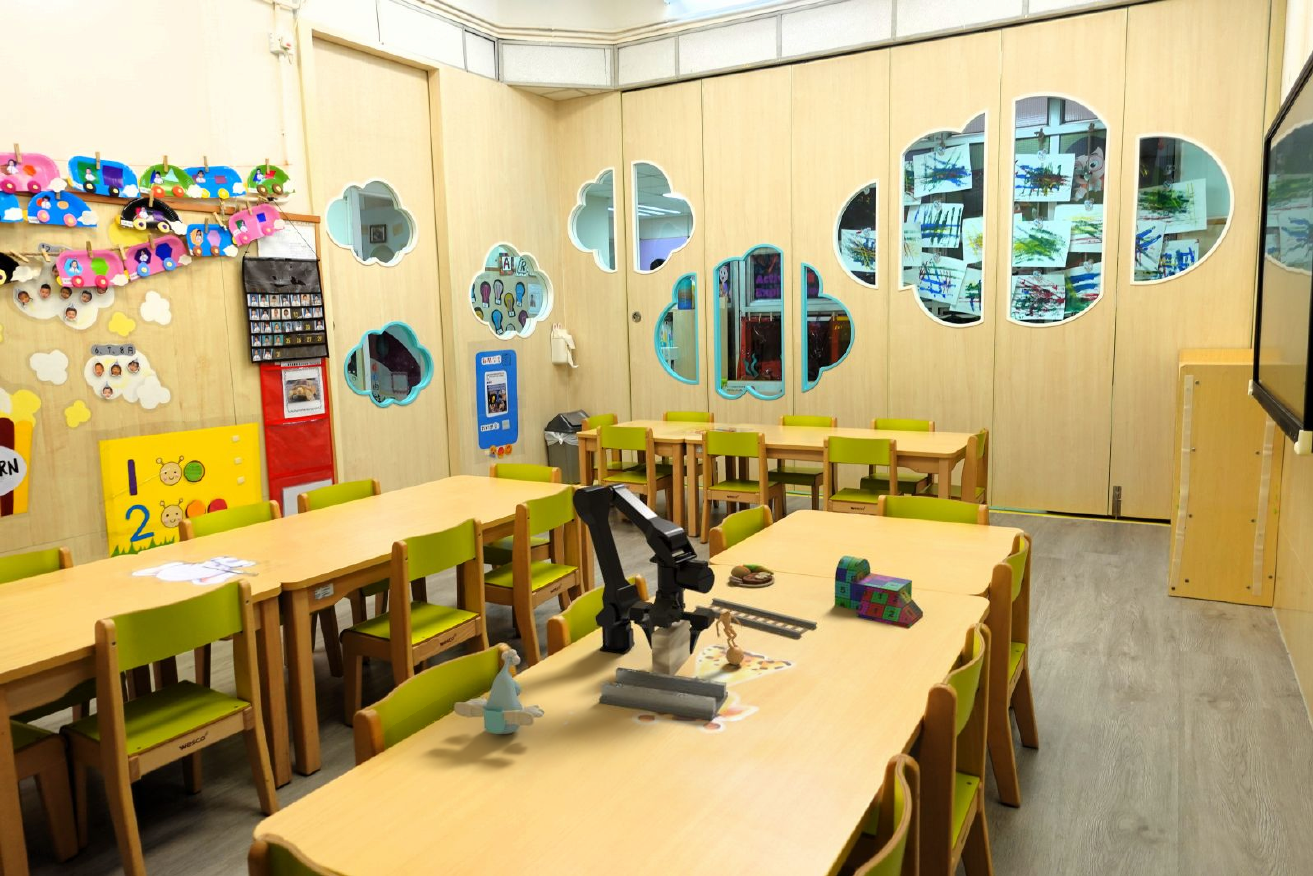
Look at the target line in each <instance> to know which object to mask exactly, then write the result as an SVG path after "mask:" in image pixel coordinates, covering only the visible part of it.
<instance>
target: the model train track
mask: <svg viewBox="0 0 1313 876" xmlns="http://www.w3.org/2000/svg"><path fill="white" fill-rule="evenodd" d="M711 601H712V602H711V604H712V605H710V606H707V607H706V606H703V605H699V604H698V605H696V606H695V605H694V606H695V610H696V609H697V607H698V608H707V609H712V610H713V611H714V613H715V620H719V618H720V613H722V612H723V610H724V609H726V608H728V610H726V611H725V612H727V611H729V612H730V614H731V615H733V616H735V618H736V619H737V620H738V621H739V622H740V624H741V626H742V627H746V626H749V629H752V630H753V629H756V628H757V629H759V631H760V632H765V631H769V632H768V633H769V634H772V635H773V634H776V633H777V634H778V636H780V637H785V636H788V638H789V639H792V640H795V639H801V638H802V635H803V634H805V633H806V632H808V631H810V630H811V629H812V630H815V629H817V628H818V627H817V624H818V622H816V621H812V620H807V619H804V618H803V619H802V618H799V617H795V616H791V615H787V614H782V613H778V612H775V611H770V610H766V609H761V608H758V607H754V606H750V605H746V604H742V603H737V602H734V601H729V600H725V599H721V598H716V597H713V598H711ZM717 606H719V607H718V608H717V609H713V608H715V607H717ZM736 610H737V612H735V613H731V612H733V611H736ZM743 613H747V614H745V615H743V616H741V614H743ZM753 615H756V616H754V617H753V618H750V617H751V616H753ZM762 617H764V618H765V619H763V620H759V619H761V618H762ZM771 620H776V621H773V622H772V623H768V622H769V621H771ZM781 622H784V623H783V624H781V625H778V624H779V623H781ZM730 624H733V625H736V624H738V623H737V622H736V621H735V619H734V618H731V622H730ZM791 624H793V625H794V626H792V627H791V628H789V627H788V626H790V625H791ZM741 626H740V627H741ZM800 627H804V628H803V629H801V630H797V629H798V628H800Z"/></svg>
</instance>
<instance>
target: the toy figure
mask: <svg viewBox="0 0 1313 876" xmlns="http://www.w3.org/2000/svg"><path fill="white" fill-rule="evenodd" d="M517 653H518V652H517V651H516V650H515V649H513V648H512V649H509V650H508V651H503V652H502V653H501V660H503V661H504V665H503V667H502V668H501V670H500V671H499V673H497V675H496V676H495V678H494V680H493V683H492V685H491V689H490V692H489V697H488V700H487V698H485V697H483V696H482V697H481V698H470V699H469V700H468V701H465V702H460V701H458V702H455V703H454V705H453V706H454V707H453V708H454V709H453V711H454V713H455V714H456V715H457V716H461V717H467V718H481V717H483V723H484V724H483V725H484V729H485V731H486V732H487V733H490V734H495V735H496V734H497V735H498V734H500V735H509V734H512V733H514V732H515V731H517V730H519V728H520V727H521V726H528V727H529V726H533V725H534V724H535V723H534V720H535V719H534V718H537V719H539V718H542V717H543V715H544V714H545V710H544V709H542V708H540V706H539V705H537V704H534V705H533V704H532V705H529V706H524V707H523V705H522V703H521V701H520V699H519V698H518V697H519V696H520V695H521V693H522V687H521V684H520V683H519V682H518V681H516V680H515V679H514V678H513V676H512V674H511V672H510V669H509V667H513V666H517V665H519V664H520V663H521V657H519V655H518V654H517Z"/></svg>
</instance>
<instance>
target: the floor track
mask: <svg viewBox="0 0 1313 876" xmlns="http://www.w3.org/2000/svg"><path fill="white" fill-rule="evenodd" d="M600 685H601V686H600V688H601V689H600V690H601V696H600V697H599V698H598V699H599V701H598V703H599V704H603V705H612V706H617V707H624V708H630V709H636V710H643V711H648V712H655V713H662V714H667V715H675V716H679V717H688V718H693V719H699V720H706V721H713V720H714V718H715V716H716V715H717V714H718V712H719V710H721V707H722V706H723V704H724V703H725V702H726V700H727V699H728V696H729V695H728V694H729V693H728V691H727V682H724V681H717V680H711V679H703V678H696V677H688V676H682V675H676V674H675V675H669V674H662V673H654V672H652V671H645V670H639V669H632V668H626V667H617V668H616V669H615V681H614V682H609V681H603V682H602V683H601V684H600Z"/></svg>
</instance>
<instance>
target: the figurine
mask: <svg viewBox="0 0 1313 876" xmlns="http://www.w3.org/2000/svg"><path fill="white" fill-rule="evenodd" d="M726 611H727V612H726ZM726 611H722V613H720V618H718V619H717V621H716V622H715V628H716V635H717V638H720V637H721V633H720V632H719V631H720V629H719V624H720V623H722V625H723V627H724V628H723V633H725V635H726V637H727V638H726V641H727V645H728V646H729V648H727V651H726V653H725V658H726V661H727V662H728V663H730V664H731V665H735V666H736V665H739V664H741V663H742V662H743V661H744V657H745V654H744V651H743V649H741V648H740V647H738V645H737V644H736V643H735V641H734V640H735V639H736V637H737V636H738V635H737V632H736V631H735V629H734V627H733V625H732V624H731V622H732V621H731V618H734V619H735V621H736V622H737V623H736V624H738V625H739V626H740V627H741V628H743V626H741V624H742V623H740V622H739V621H738V620H737V619H736V618H735V616H733V615H731V614H732V613H731V612H729V611H728V610H726ZM731 642H732V644H731Z"/></svg>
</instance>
